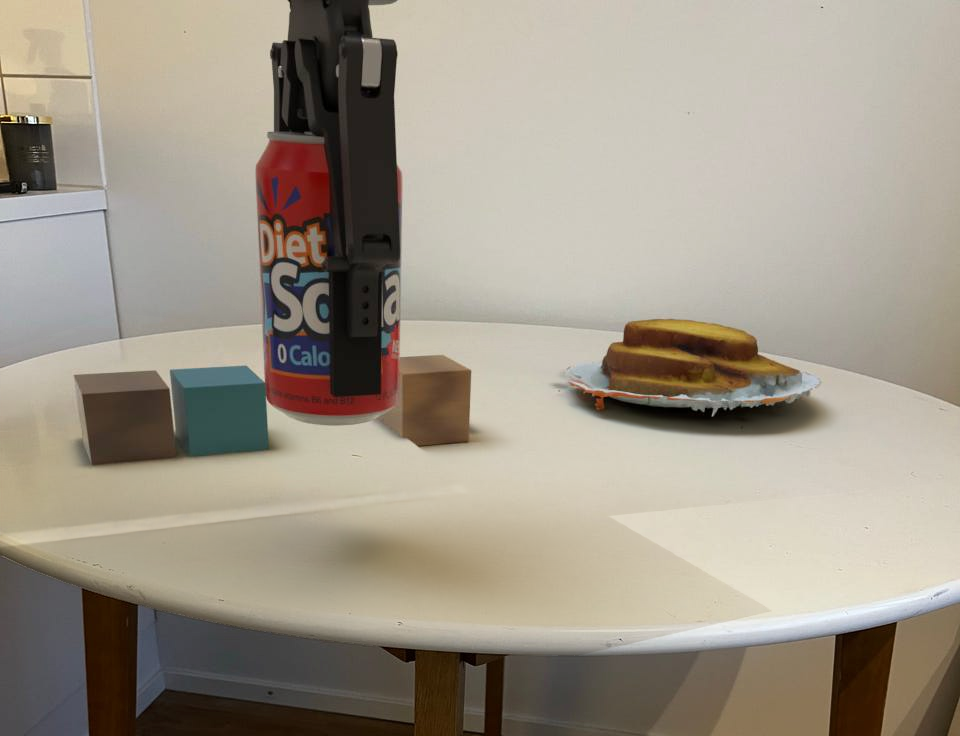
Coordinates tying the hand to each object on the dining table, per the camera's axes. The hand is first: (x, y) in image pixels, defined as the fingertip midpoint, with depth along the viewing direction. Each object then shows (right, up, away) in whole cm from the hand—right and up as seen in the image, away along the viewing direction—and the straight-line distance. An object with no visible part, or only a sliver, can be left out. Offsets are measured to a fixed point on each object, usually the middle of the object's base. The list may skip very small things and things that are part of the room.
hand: (332, 375), depth 60 cm
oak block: (+4, +2, +27) cm, 27 cm away
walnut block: (-18, -2, +18) cm, 25 cm away
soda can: (0, -2, +1) cm, 2 cm away
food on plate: (+29, +8, +42) cm, 52 cm away
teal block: (-12, -1, +20) cm, 23 cm away
